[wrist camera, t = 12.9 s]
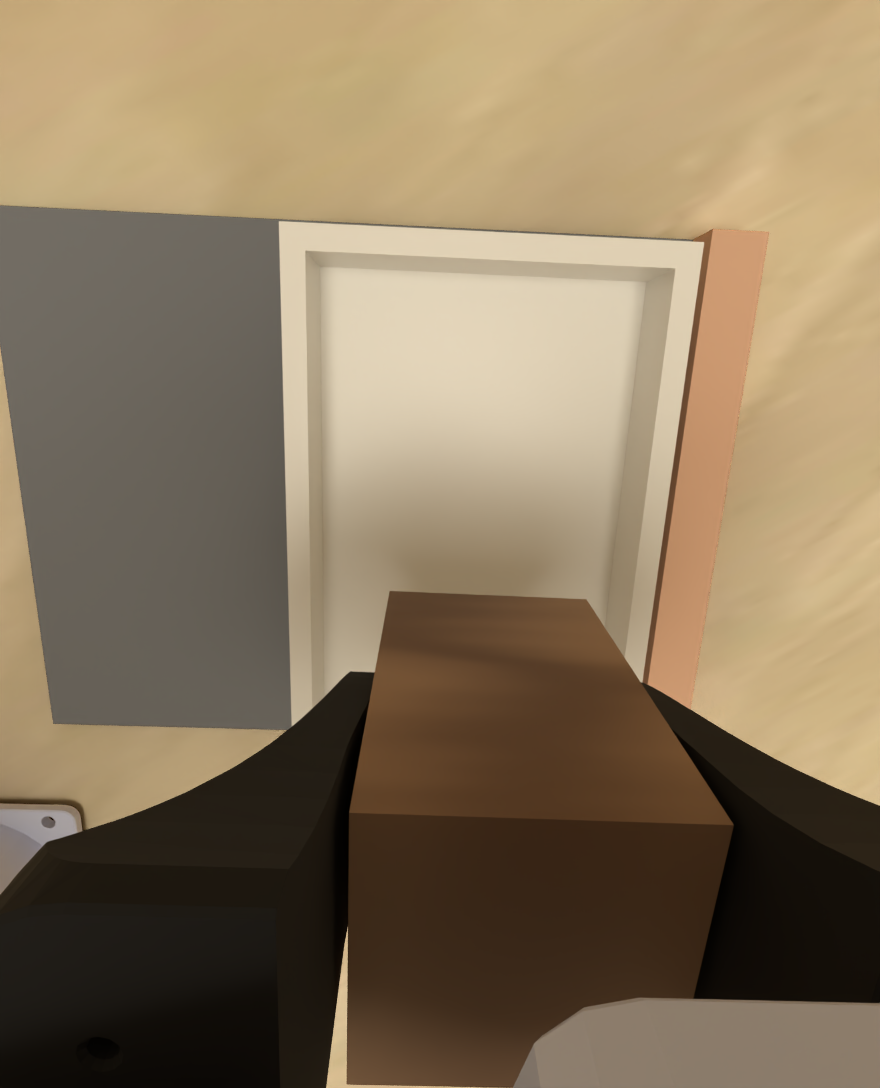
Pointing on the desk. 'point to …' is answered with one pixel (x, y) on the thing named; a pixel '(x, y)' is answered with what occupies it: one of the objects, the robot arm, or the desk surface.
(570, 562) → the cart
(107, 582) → the thin flat board
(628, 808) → the walnut block
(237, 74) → the desk surface
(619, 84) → the desk surface
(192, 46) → the desk surface
